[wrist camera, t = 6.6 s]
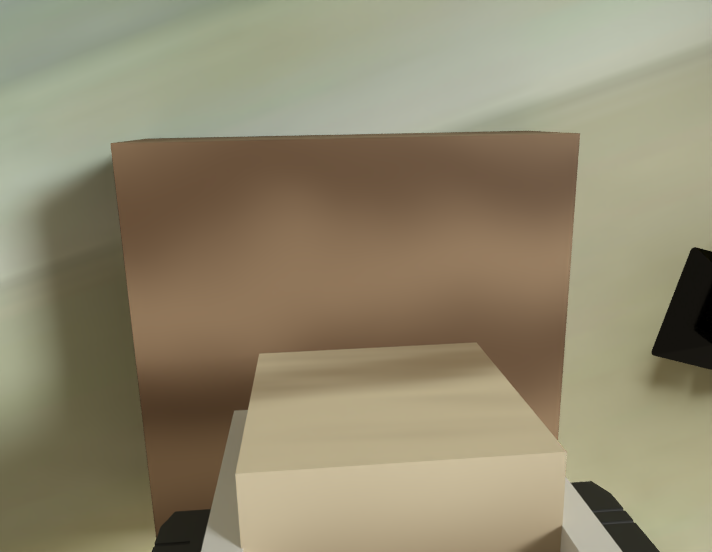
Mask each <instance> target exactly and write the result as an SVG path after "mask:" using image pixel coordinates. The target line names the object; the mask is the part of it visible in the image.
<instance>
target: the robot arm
mask: <svg viewBox="0 0 712 552" xmlns="http://www.w3.org/2000/svg"><path fill="white" fill-rule="evenodd" d="M247 412H248V410H236V411H234V413H233V418H232V422H231V426H230V430H229V435H228V439H227V443H226V447H225V452H224V456H223V460H222V464H221V469H220V473H219V477H218V481H217V486H216V490H215V494H214V498H213V503H212V507H211V509H204V510H190V511H175V512H174V513H173V514H172V515H171V516H170V517H169V519H168V520H167V521H166V522H165V523H164V524H163V525H162V526H161V527H160V530H159V533H158V536H157V538H156V541H155V547H153V550H152V552H243V548H241V542H240V529H239V516H238V503H237V490H236V477H235V473H236V468H237V463H238V458H239V453H240V448H241V442H242V437H243V432H244V427H245V422H246V417H247ZM560 552H660V551H659V550H658V549H657V548H656V547H655V545H654V544H653V543H652V542H651V541H650V540H649V538H648V537H647V536H646V535H645V534H644V532H643V531H642V530H641V529H640V528H639V526H638V525H637V524H636V523H633V519H632V518H631V517H630V516H629V515H628V513H627V512H626V511H623V507H622V506H621V505H620V504H619V503H618V502H617V500H616V499H615V498H614V497H613V496H612V494H611V493H609V492H608V491H606V490H604V489H603V488H601V487H600V486H598V485H597V484H595V483H593V482H592V481H589V482H574V483H570V482H569V480H568V479H567V478H566V476H565V492H564V509H563V525H562V533H561V548H560Z"/></svg>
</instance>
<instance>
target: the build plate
mask: <svg viewBox="0 0 712 552" xmlns="http://www.w3.org/2000/svg"><path fill="white" fill-rule="evenodd" d="M652 354H653V355H654V356H658V357H662V358H666V359H670V360H675V361H679V362H683V363H687V364H691V365H695V366H699V367H703V368H707V369H711V370H712V252H711V251H707V250H704V249H700V248H696V247H694V248H692V249H691V251H690V253H689V256H688V259H687V261H686V264H685V266H684V269H683V271H682V274H681V277H680V279H679V282H678V284H677V287H676V290H675V292H674V295H673V297H672V300H671V303H670V305H669V308H668V310H667V313H666V315H665V318H664V321H663V323H662V326H661V328H660V331H659V334H658V336H657V339H656V341H655V344H654V347H653V349H652Z"/></svg>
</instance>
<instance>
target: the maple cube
mask: <svg viewBox="0 0 712 552" xmlns="http://www.w3.org/2000/svg"><path fill="white" fill-rule="evenodd" d="M566 460H567V451H566V450H565V449H564V448H563V446H562V445H561V444H560V443H559V442H558V440H557V439H556V438H555V437H554V435H553V434H552V433H551V432H550V431H549V429H548V428H547V427H546V426H545V425H544V423H543V422H542V421H541V420H540V419H539V417H538V416H537V415H536V414H535V413H534V411H533V410H532V409H531V408H530V406H529V405H528V404H527V403H526V402H525V400H524V399H523V398H522V397H521V396H520V394H519V393H518V392H517V391H516V390H515V388H514V387H513V386H512V385H511V384H510V382H509V381H508V380H507V379H506V378H505V376H504V375H503V374H502V373H501V371H500V370H499V369H498V368H497V367H496V365H495V364H494V363H493V362H492V361H491V359H490V358H489V357H488V356H487V355H486V353H485V352H484V351H483V350H482V349H481V347H480V346H479V345H478V344H477V343H457V344H438V345H418V346H399V347H380V348H360V349H341V350H322V351H303V352H283V353H264V354H259V357H258V362H257V367H256V372H255V377H254V382H253V387H252V392H251V397H250V402H249V407H248V412H247V417H246V422H245V427H244V432H243V437H242V442H241V448H240V453H239V458H238V463H237V468H236V473H235V477H236V490H237V503H238V516H239V529H240V542H241V548H243V552H560V548H561V533H562V525H563V509H564V492H565V476H566Z"/></svg>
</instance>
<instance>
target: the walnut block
mask: <svg viewBox="0 0 712 552" xmlns="http://www.w3.org/2000/svg"><path fill="white" fill-rule="evenodd" d="M579 139H580V133H560V132H540V131H500V132H451V133H402V134H354V135H305V136H256V137H207V138H159V139H141V140H133V141H125V142H117V143H111V152H112V160H113V169H114V178H115V186H116V195H117V203H118V212H119V221H120V229H121V238H122V247H123V255H124V264H125V272H126V281H127V290H128V298H129V307H130V315H131V324H132V333H133V341H134V350H135V358H136V367H137V376H138V384H139V393H140V402H141V410H142V419H143V427H144V436H145V445H146V453H147V462H148V470H149V479H150V488H151V496H152V505H153V514H154V522H155V531H156V538H157V536H158V533H159V530H160V527H161V526H162V525H163V524H164V523H165V522H166V521H167V520H168V519H169V517H170V516H171V515H172V514H173V513H174V512H175V511H190V510H204V509H211V507H212V503H213V498H214V494H215V490H216V486H217V481H218V477H219V473H220V469H221V464H222V460H223V456H224V452H225V447H226V443H227V439H228V435H229V430H230V426H231V422H232V418H233V413H234V411H236V410H248V407H249V402H250V397H251V392H252V387H253V382H254V377H255V372H256V367H257V362H258V357H259V354H264V353H283V352H303V351H322V350H341V349H360V348H380V347H399V346H418V345H438V344H457V343H477V344H478V345H479V346H480V347H481V349H482V350H483V351H484V352H485V353H486V355H487V356H488V357H489V358H490V359H491V361H492V362H493V363H494V364H495V365H496V367H497V368H498V369H499V370H500V371H501V373H502V374H503V375H504V376H505V378H506V379H507V380H508V381H509V382H510V384H511V385H512V386H513V387H514V388H515V390H516V391H517V392H518V393H519V394H520V396H521V397H522V398H523V399H524V400H525V402H526V403H527V404H528V405H529V406H530V408H531V409H532V410H533V411H534V413H535V414H536V415H537V416H538V417H539V419H540V420H541V421H542V422H543V423H544V425H545V426H546V427H547V428H548V429H549V431H550V432H551V433H552V434H553V435H554V437H555V438H556V439H557V440H558V430H559V416H560V402H561V388H562V374H563V361H564V347H565V333H566V319H567V305H568V291H569V277H570V264H571V250H572V236H573V222H574V208H575V194H576V180H577V167H578V153H579Z"/></svg>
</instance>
